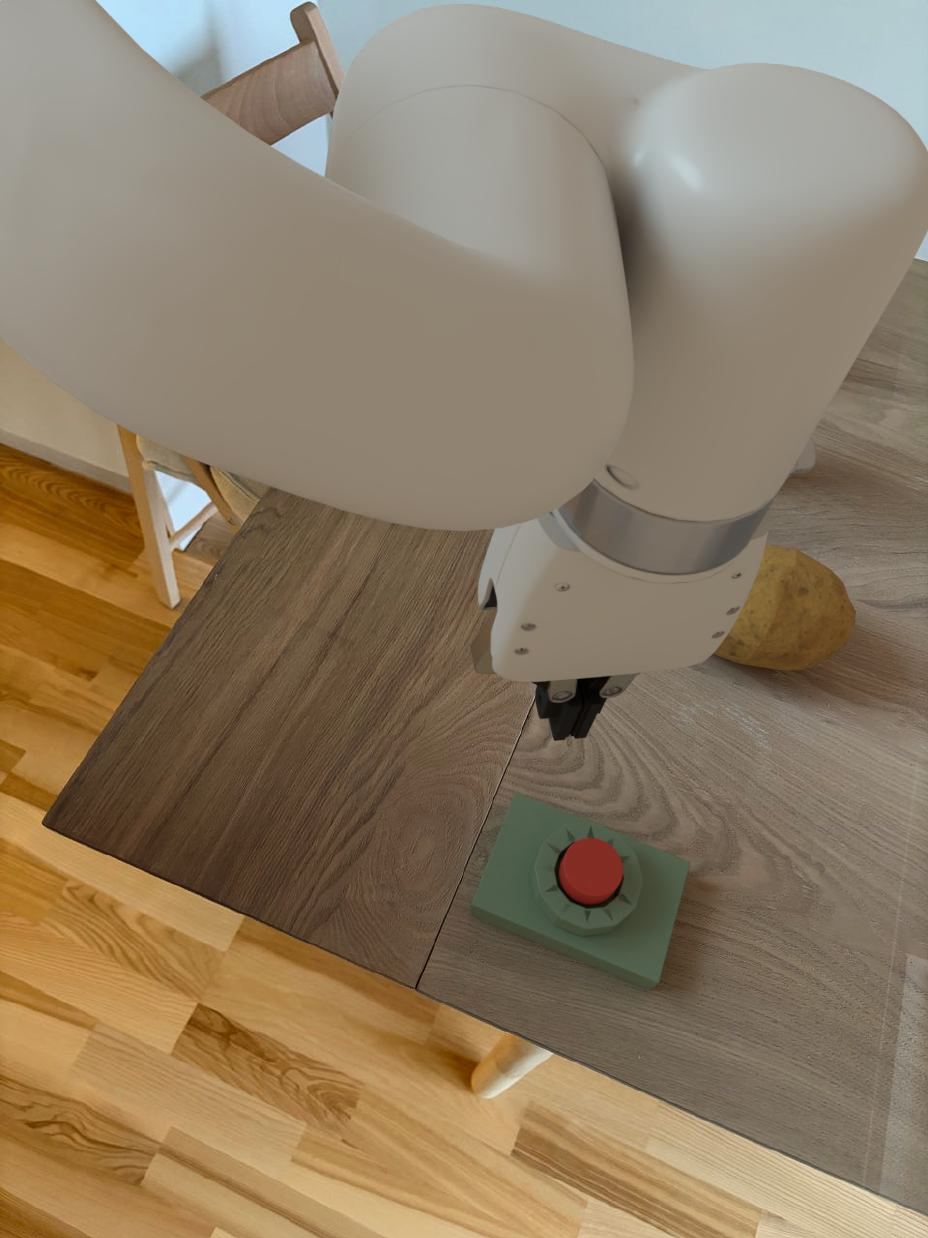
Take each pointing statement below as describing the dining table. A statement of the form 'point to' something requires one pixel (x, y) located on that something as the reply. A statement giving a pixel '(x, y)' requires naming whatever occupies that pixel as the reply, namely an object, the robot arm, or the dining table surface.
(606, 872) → the bell button
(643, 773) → the dining table surface
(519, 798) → the green button box
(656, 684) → the dining table surface
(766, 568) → the potato
